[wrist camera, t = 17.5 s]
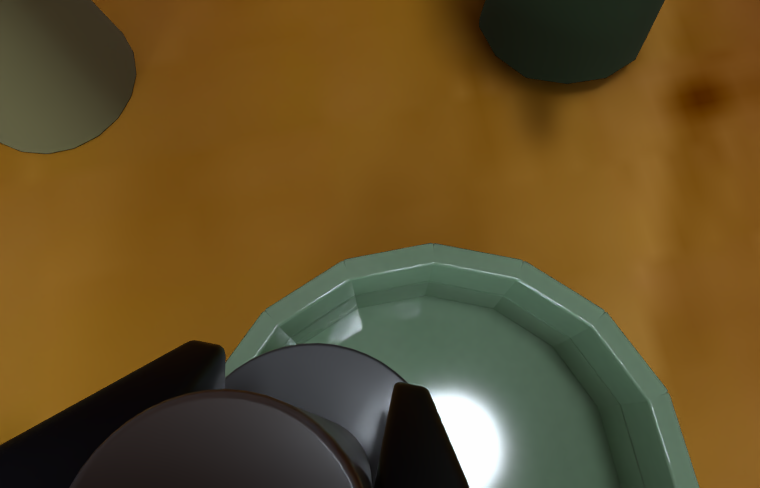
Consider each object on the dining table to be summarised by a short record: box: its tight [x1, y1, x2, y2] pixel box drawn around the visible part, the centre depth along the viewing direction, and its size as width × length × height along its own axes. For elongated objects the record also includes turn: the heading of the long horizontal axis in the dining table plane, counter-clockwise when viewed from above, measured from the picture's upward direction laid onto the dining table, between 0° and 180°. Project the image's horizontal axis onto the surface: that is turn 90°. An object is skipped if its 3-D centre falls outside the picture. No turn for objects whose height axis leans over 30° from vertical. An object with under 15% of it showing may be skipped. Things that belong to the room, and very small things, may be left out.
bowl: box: [225, 243, 699, 488], centre depth 17 cm, size 12×12×4 cm
